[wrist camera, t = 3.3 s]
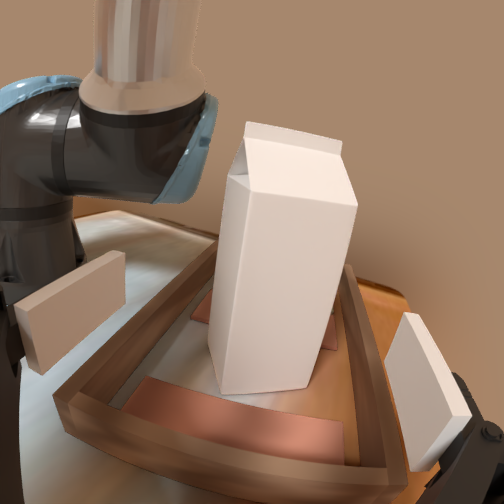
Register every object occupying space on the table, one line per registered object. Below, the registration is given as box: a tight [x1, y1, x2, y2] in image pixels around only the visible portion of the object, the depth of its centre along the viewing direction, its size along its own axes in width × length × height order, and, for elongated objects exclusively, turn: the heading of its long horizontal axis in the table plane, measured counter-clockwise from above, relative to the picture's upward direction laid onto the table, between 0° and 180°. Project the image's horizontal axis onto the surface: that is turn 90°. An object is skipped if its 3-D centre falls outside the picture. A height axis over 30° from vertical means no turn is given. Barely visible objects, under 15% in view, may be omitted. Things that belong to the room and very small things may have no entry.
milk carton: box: [207, 122, 358, 395], centre depth 23 cm, size 7×7×19 cm
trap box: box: [52, 239, 408, 504], centre depth 30 cm, size 20×36×4 cm, turn 170°
